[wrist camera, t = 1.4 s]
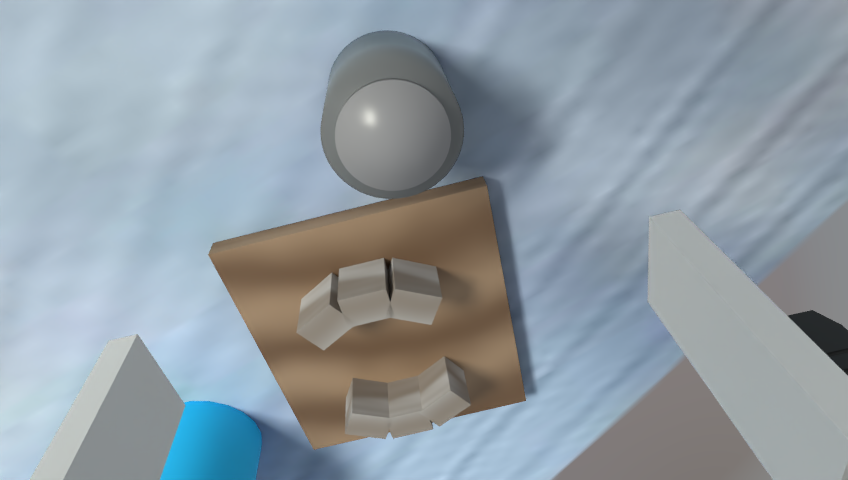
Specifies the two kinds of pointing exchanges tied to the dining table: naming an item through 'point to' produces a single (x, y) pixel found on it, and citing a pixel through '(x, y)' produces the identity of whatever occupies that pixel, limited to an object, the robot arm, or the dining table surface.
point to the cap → (390, 117)
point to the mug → (213, 444)
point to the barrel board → (388, 339)
